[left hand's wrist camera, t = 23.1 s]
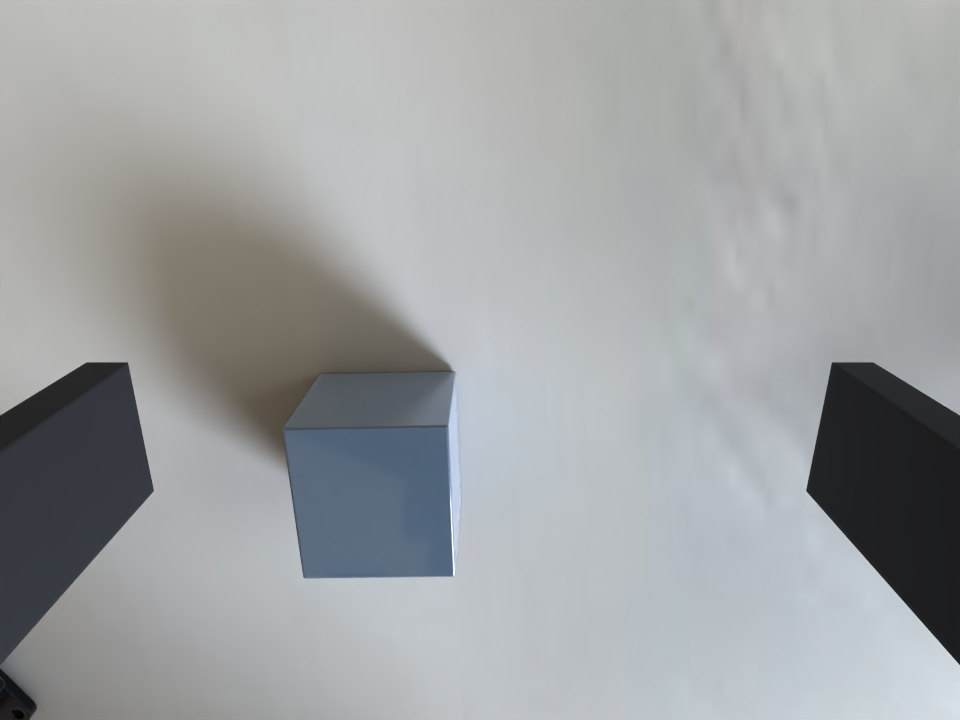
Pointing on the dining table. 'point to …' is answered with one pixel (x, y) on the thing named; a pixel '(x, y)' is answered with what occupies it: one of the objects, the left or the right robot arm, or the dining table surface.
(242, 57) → the dining table surface
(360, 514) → the block
